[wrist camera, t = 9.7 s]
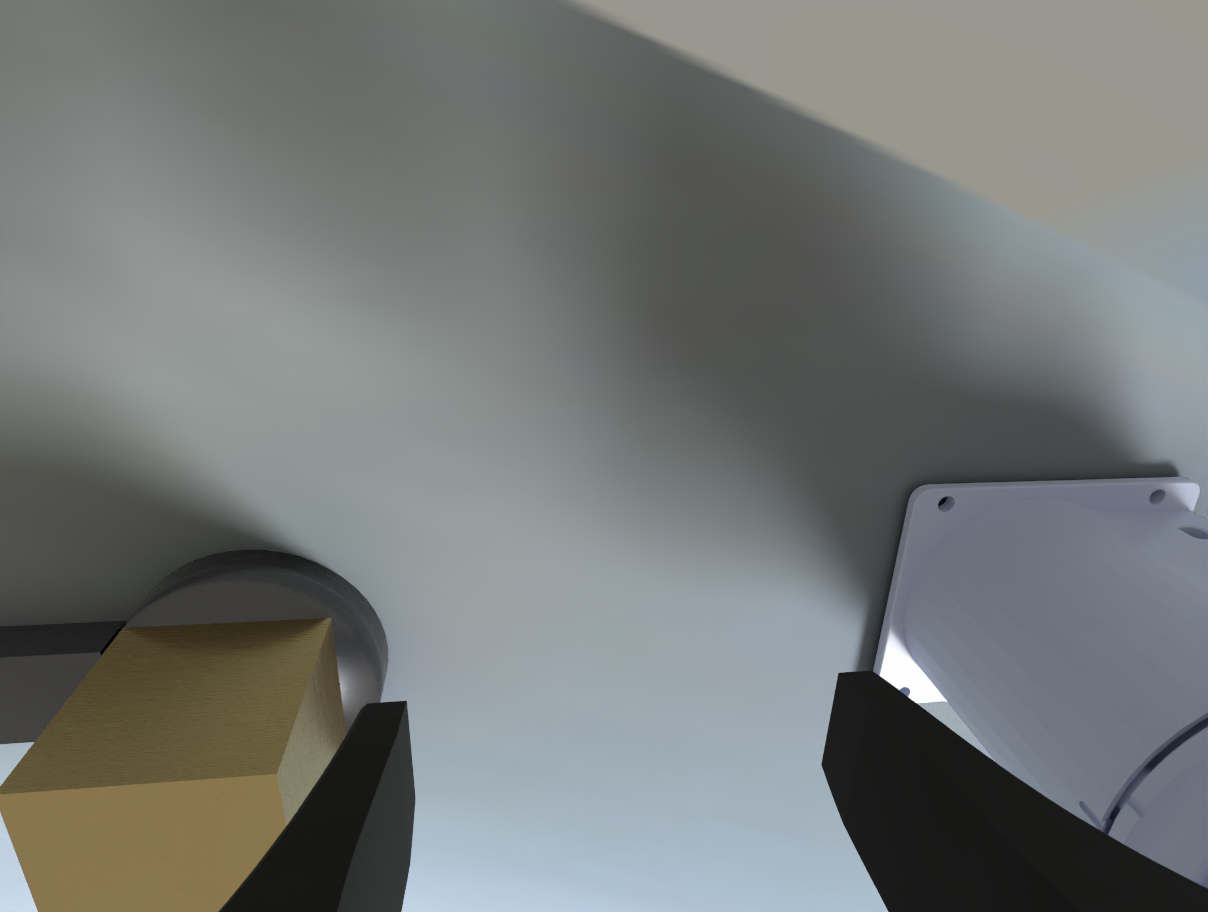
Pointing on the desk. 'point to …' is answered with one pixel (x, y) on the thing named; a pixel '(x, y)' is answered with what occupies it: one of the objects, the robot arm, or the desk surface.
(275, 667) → the brushed gold cube
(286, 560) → the ratchet
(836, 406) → the desk surface
